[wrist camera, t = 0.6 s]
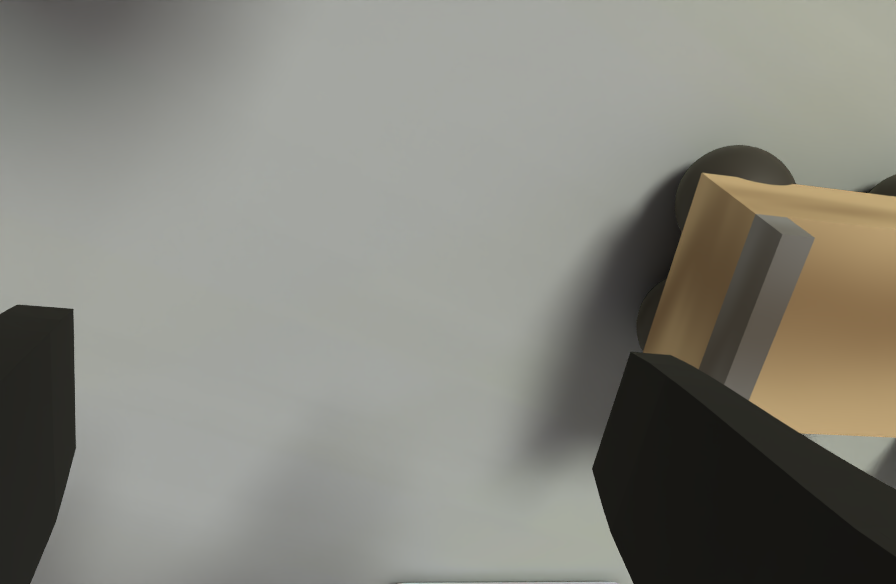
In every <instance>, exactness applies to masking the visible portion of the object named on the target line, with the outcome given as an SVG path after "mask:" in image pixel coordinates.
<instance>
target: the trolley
mask: <svg viewBox="0 0 896 584" xmlns="http://www.w3.org/2000/svg"><path fill="white" fill-rule="evenodd" d="M675 214H676V220H677V223H678V226H679V228H680V230H681V232H682V235H681V238H680V241H679V244H678V247H677V250H676V253H675V256H674V259H673V262H672V265H671V268H670V271H669V274H668V277H667V279H665V280H663V281H662V282H660V283H659V284H657V285H656V286H655V287H654V288H653V289H652V290H651V291H650V292H649V293H648V294H647V296H646V297H645V299H644V300H643V302H642V304H641V306H640V309H639V312H638V317H637V336H638V340H639V343H640V346H641V349H642V350H643V353H651V354H664V355H672V356H674V357H676V358H678V359H680V360H682V361H684V362H686V363H688V364H690V365H692V366H694V367H695V368H697V369H699V370H701V371H702V372H704V373H706V374H707V375H709V376H711V377H712V378H714V379H715V380H717V381H719V382H720V383H722V384H724V385H725V386H727V387H728V388H730V389H731V390H733V391H735V392H736V393H738V394H739V395H741V396H742V397H744V398H746V399H747V400H749V401H750V402H752V403H753V404H755V405H757V406H758V407H760V408H761V409H763V410H764V411H766V412H767V413H769V414H771V415H772V416H774V417H775V418H777V419H778V420H780V421H781V422H783V423H785V424H786V425H788V426H789V427H791V428H792V429H794V430H796V431H797V432H799V433H803V434H827V435H850V436H874V437H896V175H893V176H891V177H889V178H887V179H885V180H883V181H882V182H880V183H879V184H878V185H876V186H875V187H874V188H873V189H872V190H871V191H870V192H869V193H862V192H854V191H846V190H838V189H829V188H821V187H813V186H805V185H797V184H796V183H795V181H794V179H793V176H792V175H791V173H790V171H789V170H788V169H787V167H786V166H785V165H784V164H783V163H782V162H781V161H780V160H779V159H778V158H776V157H775V156H774V155H772V154H770V153H769V152H767V151H764V150H762V149H759V148H756V147H751V146H744V145H734V146H726V147H722V148H719V149H716V150H713V151H711V152H709V153H707V154H705V155H704V156H702V157H701V158H699V159H698V160H697V161H696V162H695V163H694V164H693V165H691V167H690V168H689V169H688V170H687V171H686V173H685V174H684V176H683V178H682V179H681V181H680V184H679V186H678V189H677V193H676V198H675Z"/></svg>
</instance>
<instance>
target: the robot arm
mask: <svg viewBox="0 0 896 584" xmlns="http://www.w3.org/2000/svg"><path fill="white" fill-rule="evenodd" d="M75 449H76V436H75V378H74V320H73V309H67V308H54V307H42V306H29V305H16V306H14V307H12V308H10V309H8V310H7V311H5V312H3V313H1V314H0V584H30V583H31V580H32V578H33V576H34V573H35V571H36V568H37V566H38V564H39V561H40V559H41V556H42V554H43V552H44V549H45V547H46V544H47V542H48V540H49V537H50V535H51V532H52V530H53V527H54V525H55V522H56V519H57V516H58V512H59V509H60V505H61V502H62V498H63V494H64V491H65V487H66V483H67V480H68V476H69V472H70V468H71V464H72V460H73V457H74V453H75ZM592 470H593V474H594V477H595V481H596V485H597V488H598V492H599V496H600V499H601V503H602V506H603V509H604V513H605V516H606V519H607V522H608V525H609V528H610V532H611V534H612V536H613V539H614V541H615V543H616V546H617V548H618V550H619V552H620V555H621V557H622V559H623V561H624V563H625V566H626V568H627V570H628V572H629V574H630V577H631V579H632V581H633V583H634V584H896V490H895V489H894V488H892V487H890V486H888V485H886V484H884V483H883V482H881V481H879V480H877V479H876V478H874V477H872V476H871V475H869V474H867V473H865V472H864V471H862V470H860V469H858V468H857V467H855V466H853V465H852V464H850V463H848V462H846V461H845V460H843V459H841V458H840V457H838V456H836V455H834V454H833V453H831V452H830V451H828V450H826V449H825V448H823V447H821V446H820V445H818V444H817V443H815V442H813V441H812V440H810V439H808V438H807V437H805V436H804V435H802V434H800V433H799V432H797V431H796V430H794V429H792V428H791V427H789V426H788V425H786V424H785V423H783V422H781V421H780V420H778V419H777V418H775V417H774V416H772V415H771V414H769V413H767V412H766V411H764V410H763V409H761V408H760V407H758V406H757V405H755V404H753V403H752V402H750V401H749V400H747V399H746V398H744V397H742V396H741V395H739V394H738V393H736V392H735V391H733V390H731V389H730V388H728V387H727V386H725V385H724V384H722V383H720V382H719V381H717V380H715V379H714V378H712V377H711V376H709V375H707V374H706V373H704V372H702V371H701V370H699V369H697V368H695V367H694V366H692V365H690V364H688V363H686V362H684V361H682V360H680V359H678V358H676V357H674V356H672V355H664V354H651V353H638V352H630V356H629V359H628V362H627V365H626V368H625V371H624V374H623V377H622V380H621V383H620V386H619V389H618V392H617V395H616V398H615V401H614V404H613V407H612V410H611V413H610V416H609V419H608V422H607V425H606V428H605V431H604V434H603V437H602V440H601V444H600V447H599V450H598V453H597V456H596V459H595V462H594V465H593V468H592ZM398 584H618V583H616V582H479V583H398Z"/></svg>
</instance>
